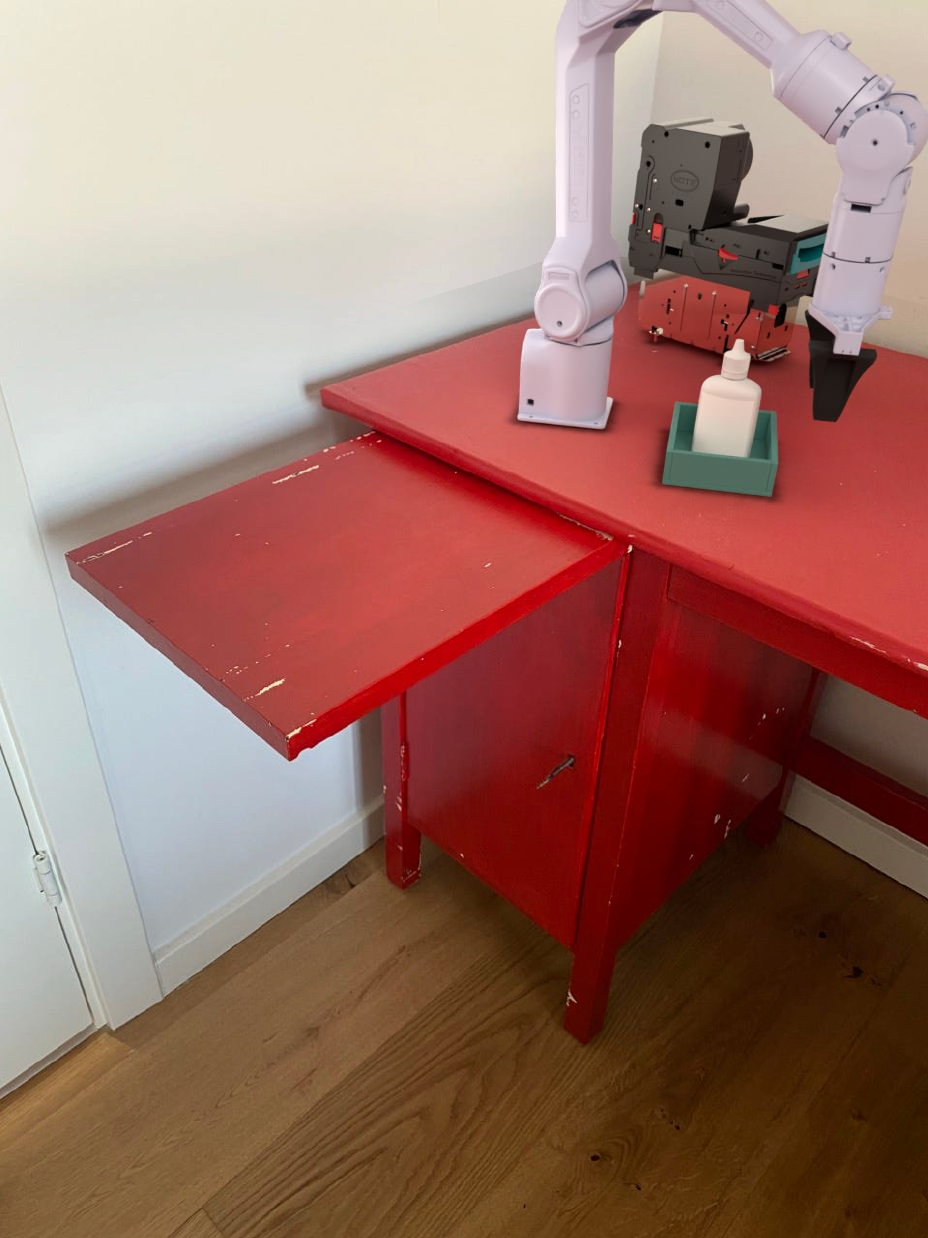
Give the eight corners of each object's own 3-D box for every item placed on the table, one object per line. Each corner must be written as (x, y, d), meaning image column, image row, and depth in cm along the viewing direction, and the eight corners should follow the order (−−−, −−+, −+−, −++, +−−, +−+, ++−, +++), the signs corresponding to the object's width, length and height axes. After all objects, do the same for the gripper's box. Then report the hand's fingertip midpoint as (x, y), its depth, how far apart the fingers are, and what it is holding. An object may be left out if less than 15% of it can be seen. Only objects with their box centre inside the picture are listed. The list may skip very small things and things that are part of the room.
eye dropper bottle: (725, 474, 94) (747, 353, 87) (683, 453, 98) (701, 335, 91) (755, 463, 96) (779, 344, 89) (713, 442, 100) (733, 327, 93)
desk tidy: (661, 484, 93) (666, 451, 91) (671, 432, 103) (675, 401, 101) (771, 497, 91) (778, 463, 89) (770, 442, 101) (776, 411, 99)
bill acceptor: (768, 379, 115) (813, 148, 101) (615, 331, 129) (636, 121, 114) (813, 357, 121) (862, 136, 107) (663, 314, 135) (688, 112, 120)
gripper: (917, 281, 77) (874, 439, 85) (897, 236, 89) (860, 379, 96) (824, 275, 78) (790, 431, 86) (816, 230, 90) (787, 372, 98)
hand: (822, 403), depth 91 cm, fingers open, 7 cm apart
